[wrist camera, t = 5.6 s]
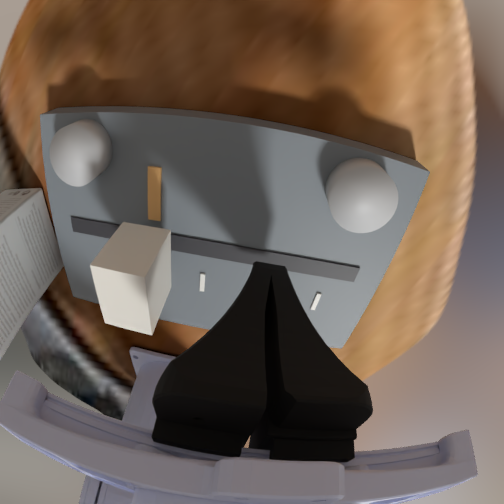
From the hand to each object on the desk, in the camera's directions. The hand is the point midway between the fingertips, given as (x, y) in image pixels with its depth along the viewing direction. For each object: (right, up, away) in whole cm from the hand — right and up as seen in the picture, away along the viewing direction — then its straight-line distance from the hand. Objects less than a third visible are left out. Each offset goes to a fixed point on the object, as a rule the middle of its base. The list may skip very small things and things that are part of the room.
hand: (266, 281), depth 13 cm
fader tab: (-5, +2, +1) cm, 5 cm away
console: (-3, +2, +2) cm, 4 cm away
